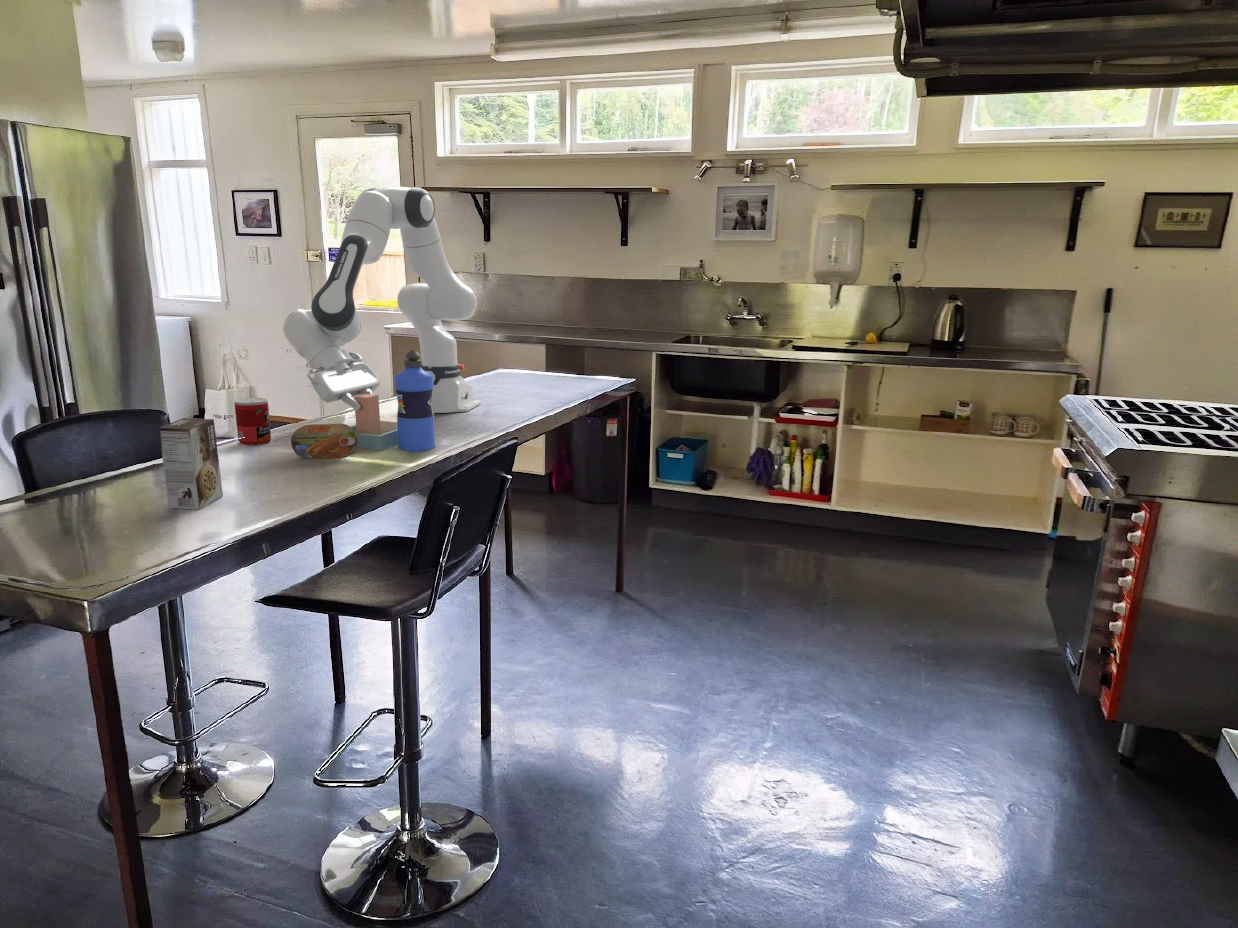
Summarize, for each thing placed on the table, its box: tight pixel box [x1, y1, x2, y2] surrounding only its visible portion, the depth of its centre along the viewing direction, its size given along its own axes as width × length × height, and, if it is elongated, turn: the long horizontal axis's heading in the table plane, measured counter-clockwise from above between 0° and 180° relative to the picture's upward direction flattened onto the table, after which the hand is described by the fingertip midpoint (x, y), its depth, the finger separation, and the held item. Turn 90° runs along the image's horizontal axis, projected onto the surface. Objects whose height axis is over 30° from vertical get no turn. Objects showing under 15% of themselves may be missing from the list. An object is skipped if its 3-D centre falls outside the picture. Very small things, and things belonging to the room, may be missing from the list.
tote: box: [349, 423, 398, 452], centre depth 209 cm, size 18×14×4 cm
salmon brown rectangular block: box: [353, 393, 381, 435], centre depth 204 cm, size 4×4×11 cm
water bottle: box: [393, 350, 436, 452], centre depth 201 cm, size 9×9×25 cm
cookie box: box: [157, 417, 224, 510], centre depth 157 cm, size 9×6×16 cm
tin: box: [290, 423, 358, 461], centre depth 194 cm, size 15×3×8 cm, turn 102°
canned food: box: [233, 397, 272, 446], centre depth 207 cm, size 8×8×11 cm
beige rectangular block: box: [380, 415, 398, 434], centre depth 212 cm, size 5×9×5 cm, turn 71°
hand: (367, 406), depth 203 cm, fingers closed on salmon brown rectangular block, 4 cm apart
